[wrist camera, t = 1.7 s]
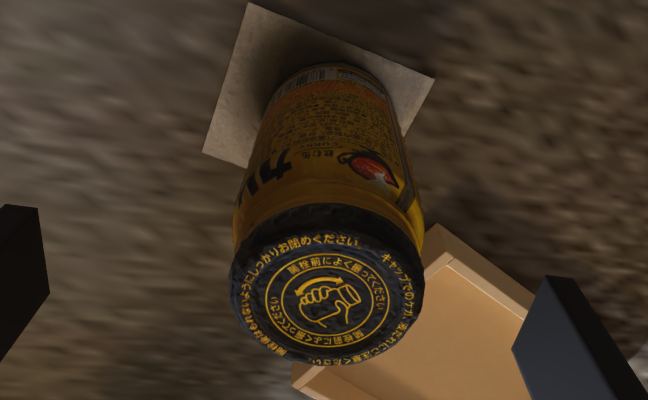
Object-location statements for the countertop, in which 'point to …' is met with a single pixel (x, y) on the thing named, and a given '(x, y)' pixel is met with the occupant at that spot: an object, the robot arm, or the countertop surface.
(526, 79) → the countertop surface
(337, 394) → the tray
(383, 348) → the condiment
